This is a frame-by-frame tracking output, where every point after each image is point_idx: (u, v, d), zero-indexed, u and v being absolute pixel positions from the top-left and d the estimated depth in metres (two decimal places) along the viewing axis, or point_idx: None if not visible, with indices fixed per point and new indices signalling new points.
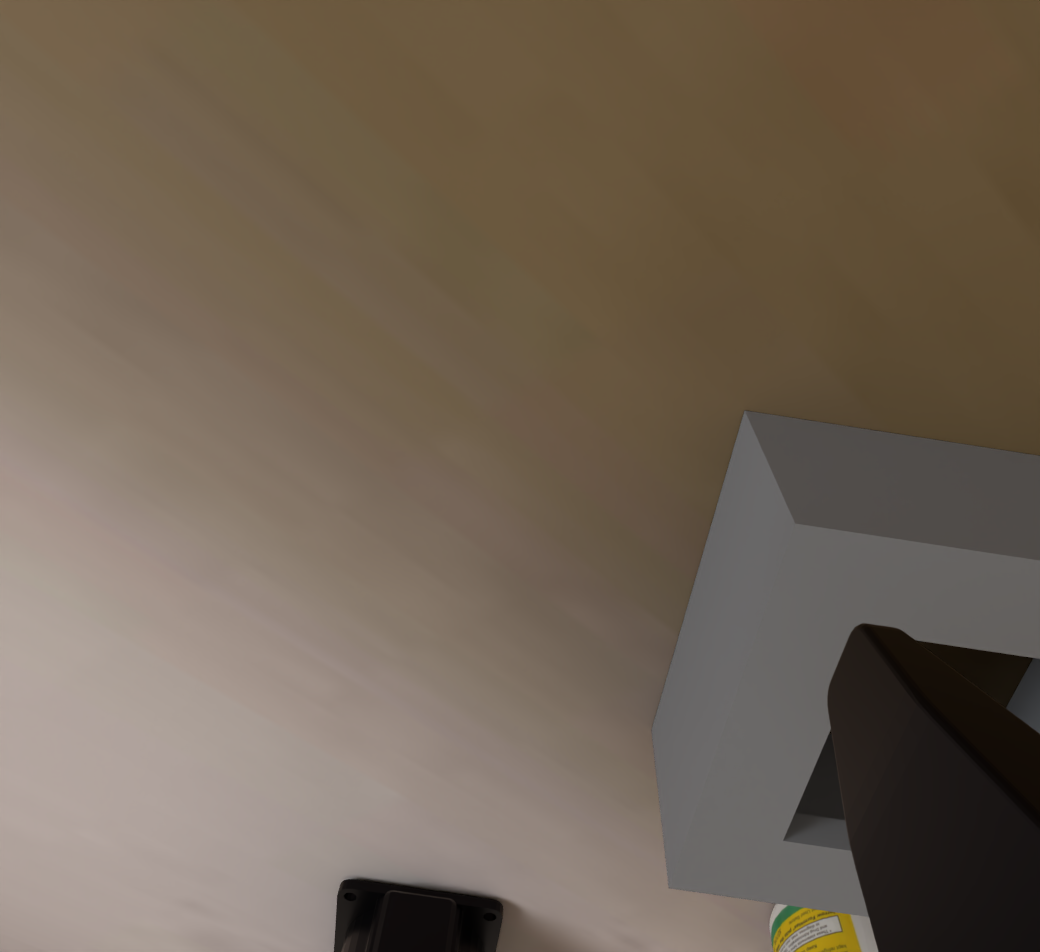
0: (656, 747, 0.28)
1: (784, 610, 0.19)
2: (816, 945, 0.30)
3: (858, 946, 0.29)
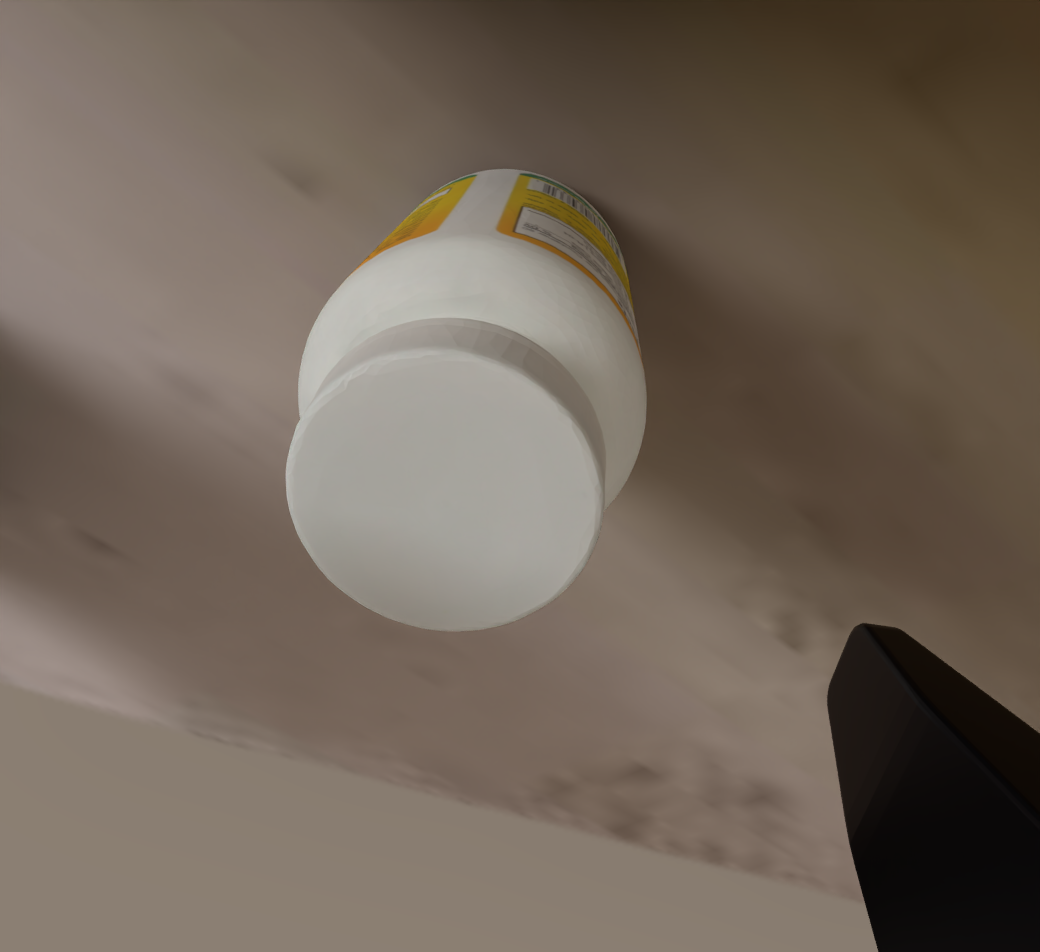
0: None
1: None
2: (400, 224, 0.16)
3: (462, 193, 0.15)
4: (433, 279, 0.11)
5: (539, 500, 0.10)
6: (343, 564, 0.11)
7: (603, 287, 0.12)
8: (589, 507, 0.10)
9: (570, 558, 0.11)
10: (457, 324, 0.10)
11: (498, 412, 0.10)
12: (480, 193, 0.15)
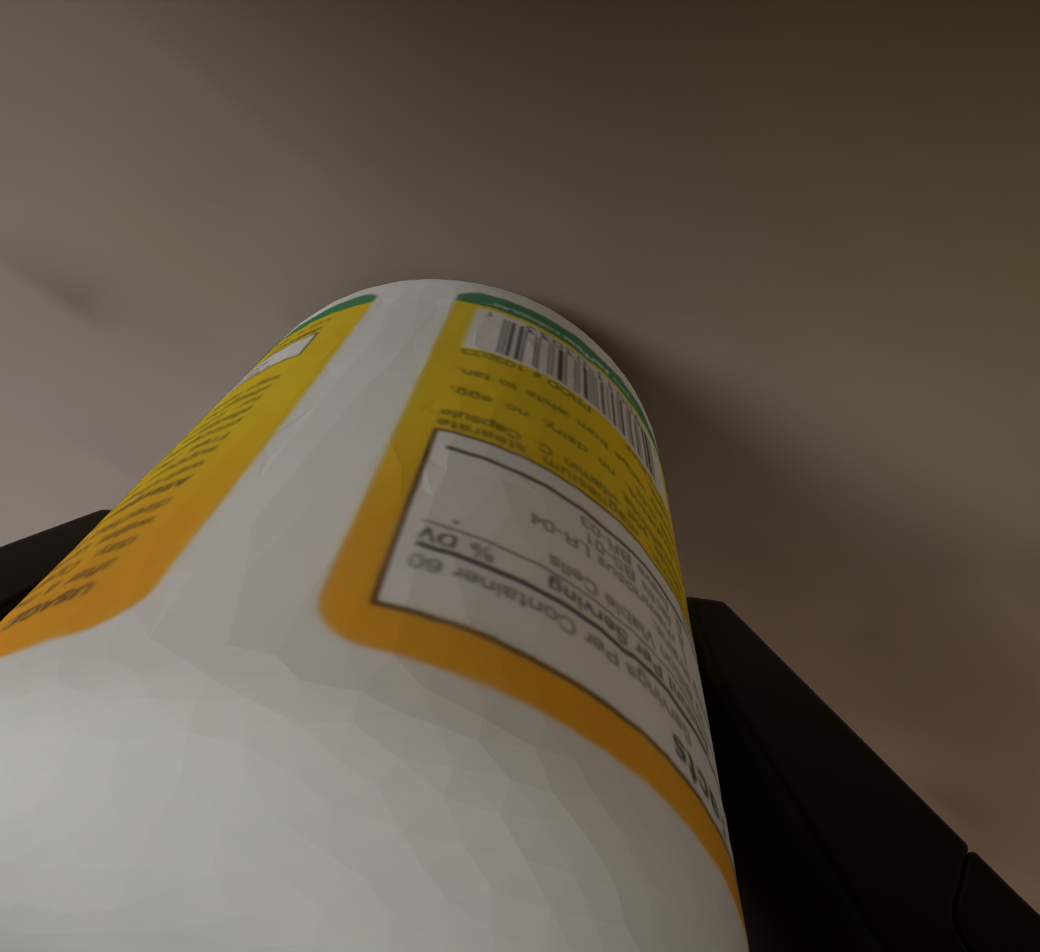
0: None
1: None
2: (205, 416, 0.08)
3: (319, 366, 0.07)
4: (60, 862, 0.03)
5: None
6: None
7: (637, 748, 0.04)
8: None
9: None
10: None
11: None
12: (353, 375, 0.07)
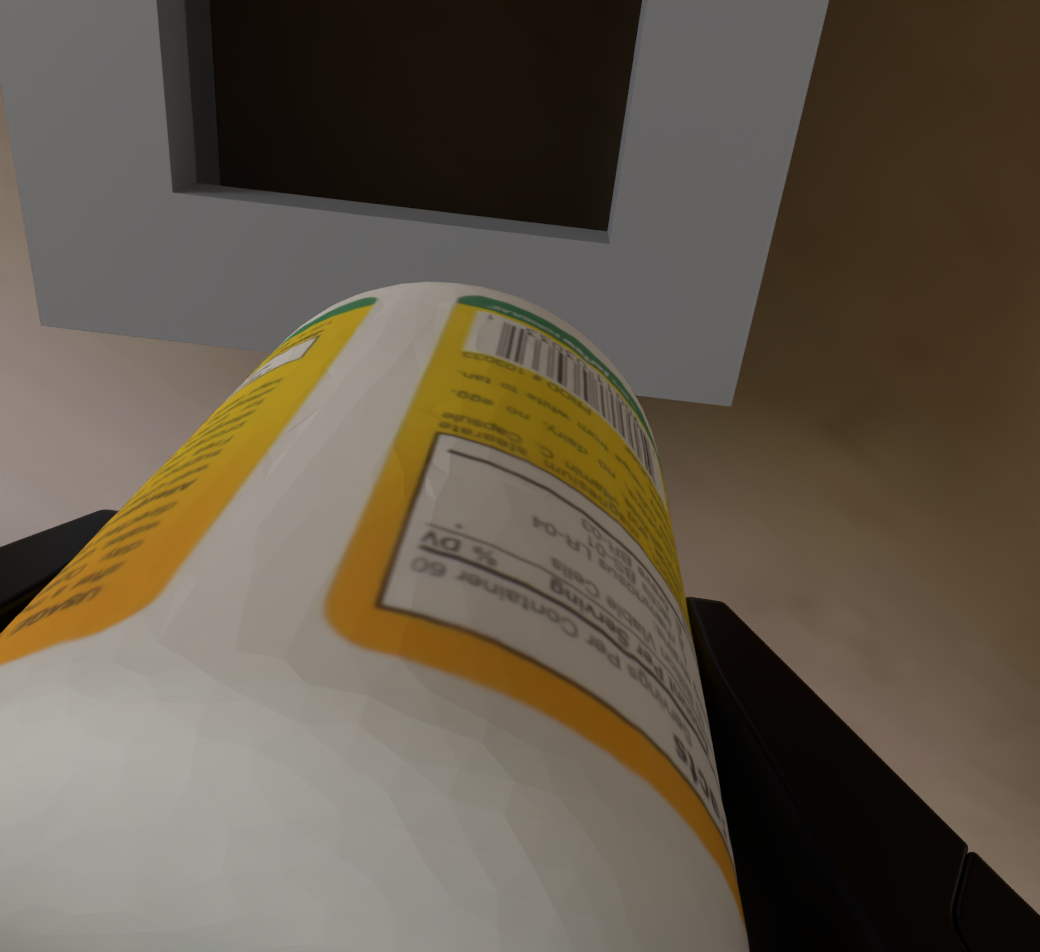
0: None
1: None
2: None
3: (321, 371, 0.07)
4: (68, 865, 0.03)
5: None
6: None
7: (639, 750, 0.04)
8: None
9: None
10: None
11: None
12: (355, 379, 0.07)
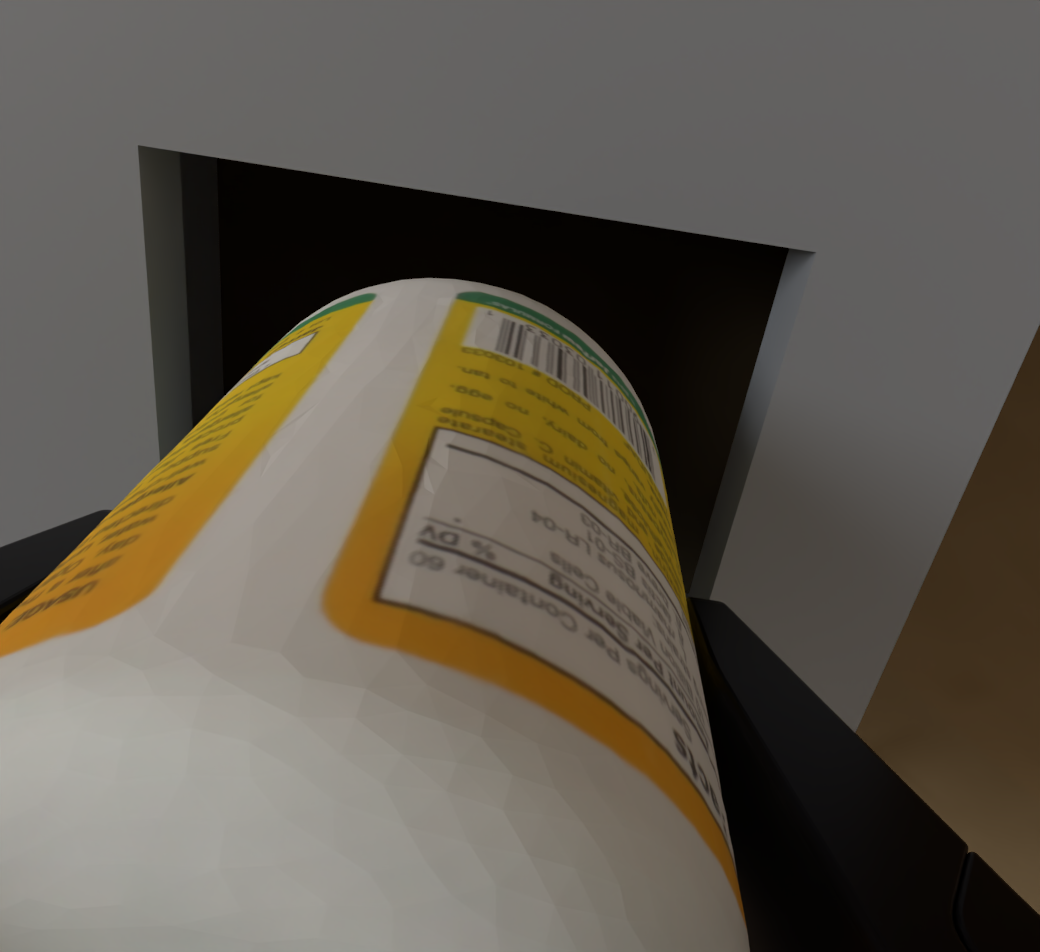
0: None
1: None
2: None
3: (321, 366, 0.07)
4: (66, 860, 0.03)
5: None
6: None
7: (638, 744, 0.04)
8: None
9: None
10: None
11: None
12: (353, 374, 0.07)
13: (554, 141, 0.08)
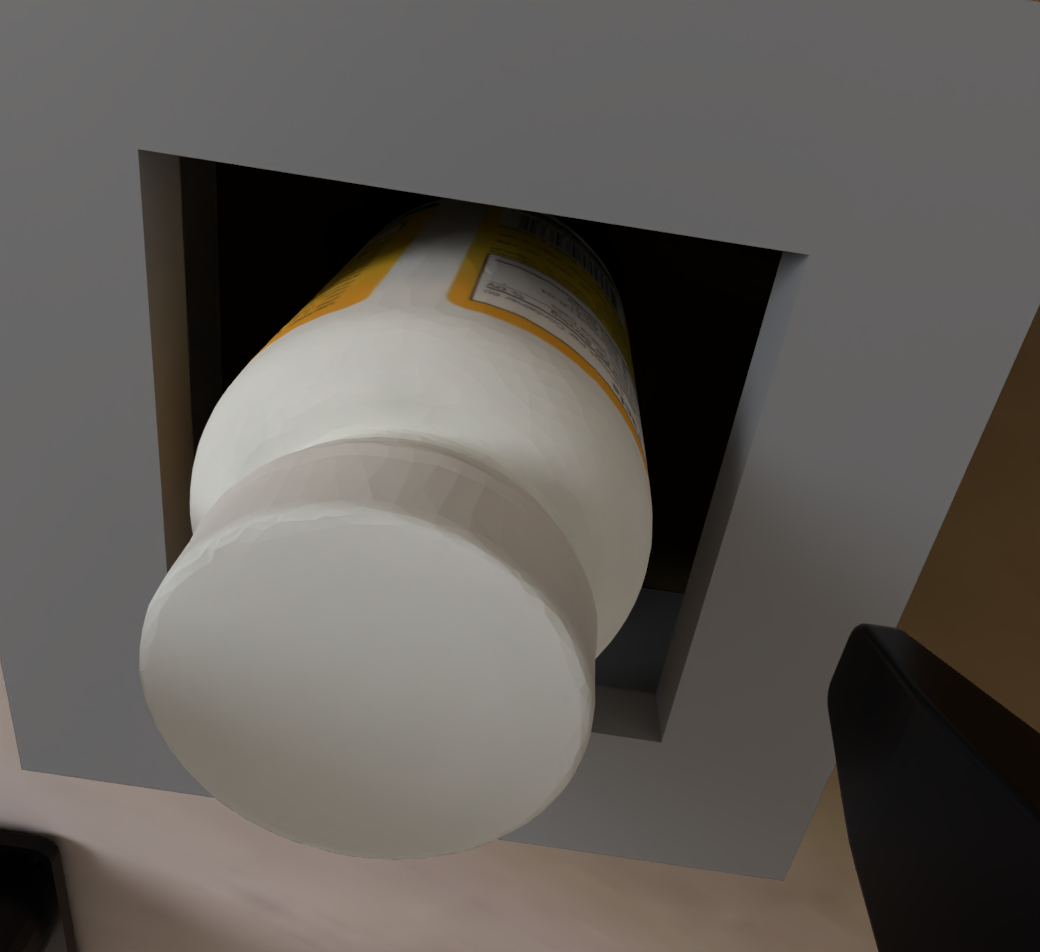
0: None
1: None
2: (340, 270, 0.12)
3: (415, 232, 0.12)
4: (353, 375, 0.08)
5: (502, 705, 0.07)
6: (231, 779, 0.08)
7: (592, 371, 0.09)
8: (572, 713, 0.07)
9: (547, 775, 0.08)
10: (379, 454, 0.07)
11: (436, 593, 0.07)
12: (437, 234, 0.12)
13: (550, 145, 0.08)
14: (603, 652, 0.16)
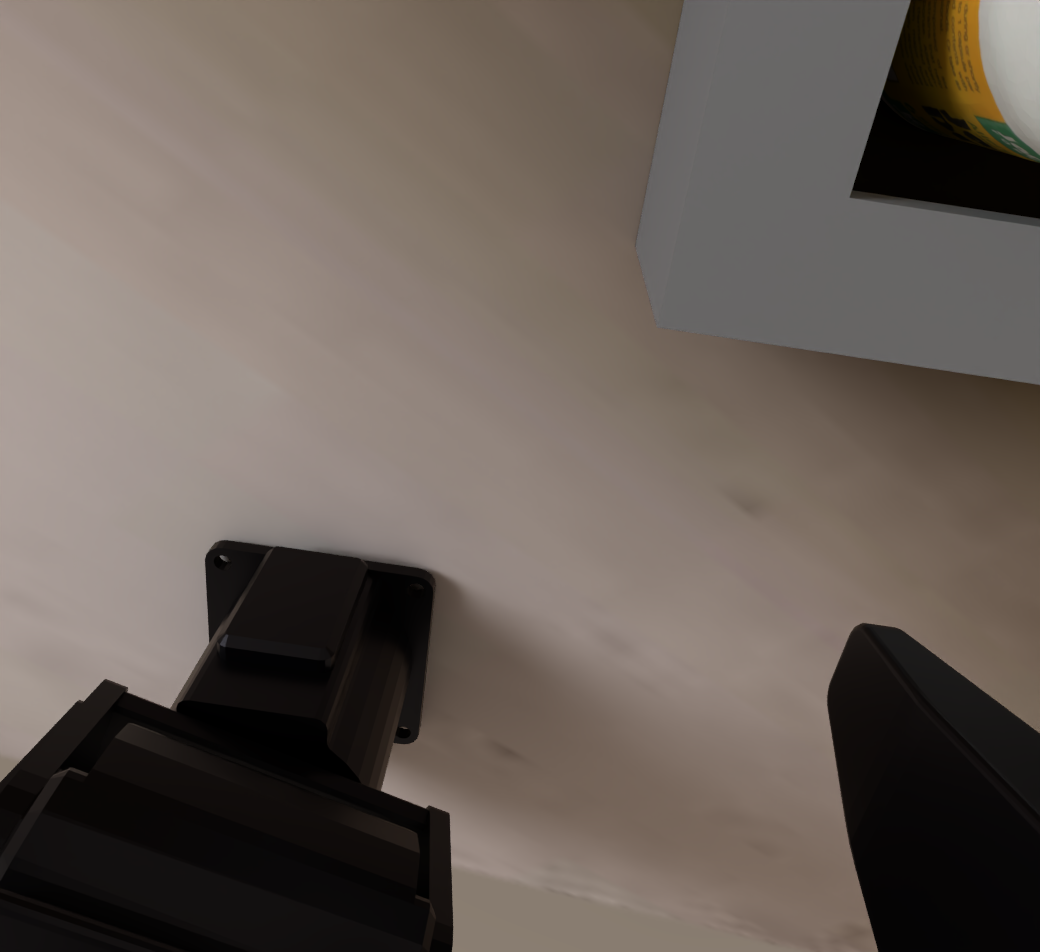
0: (641, 241, 0.18)
1: None
2: None
3: None
4: None
5: None
6: None
7: None
8: None
9: None
10: None
11: None
12: None
13: None
14: None
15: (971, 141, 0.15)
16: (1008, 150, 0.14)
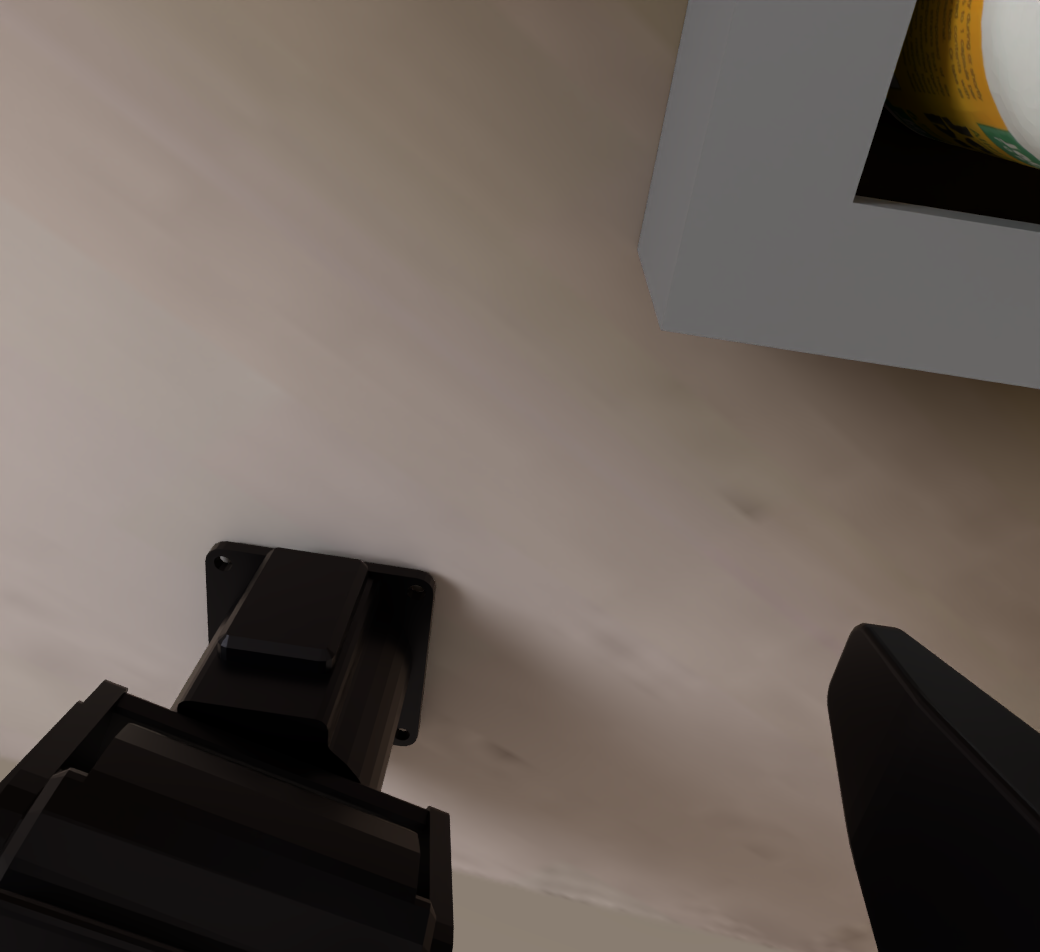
0: (644, 245, 0.19)
1: None
2: None
3: None
4: None
5: None
6: None
7: None
8: None
9: None
10: None
11: None
12: None
13: None
14: None
15: (973, 148, 0.15)
16: (1010, 157, 0.14)
